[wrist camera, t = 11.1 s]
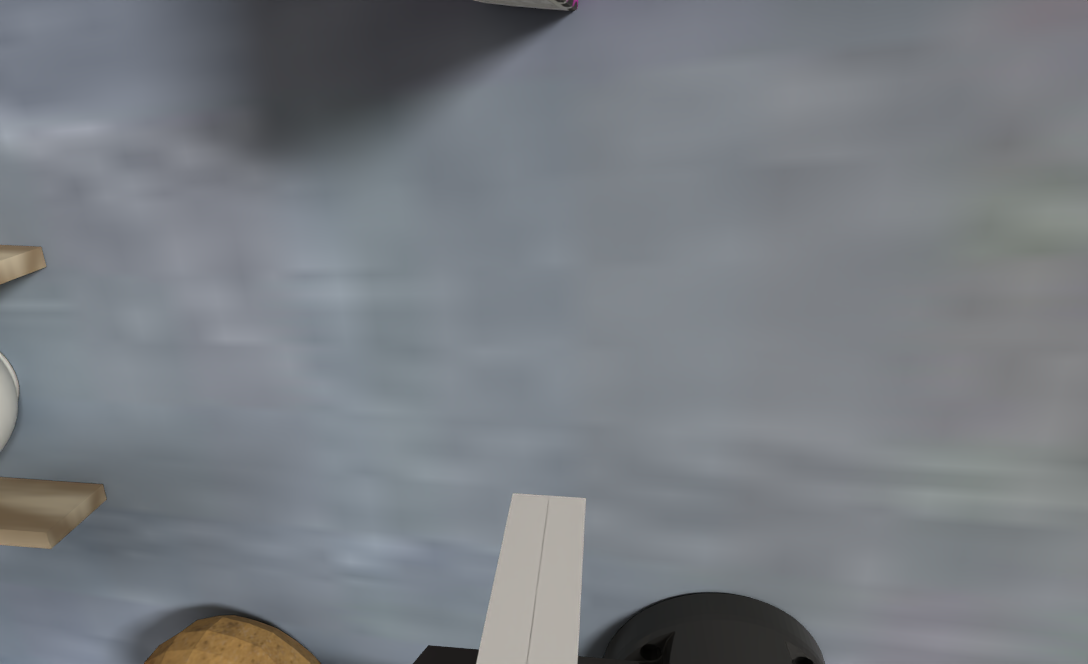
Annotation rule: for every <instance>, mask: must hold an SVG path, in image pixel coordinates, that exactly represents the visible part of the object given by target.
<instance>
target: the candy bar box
mask: <svg viewBox="0 0 1088 664" xmlns="http://www.w3.org/2000/svg"><path fill="white" fill-rule="evenodd" d="M474 1H478V2H482V3H489V4H499V5H508V6H518V7H529V8H540V9H553V10H566V11H575V10H576V9H577V7H578V0H474Z"/></svg>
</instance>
